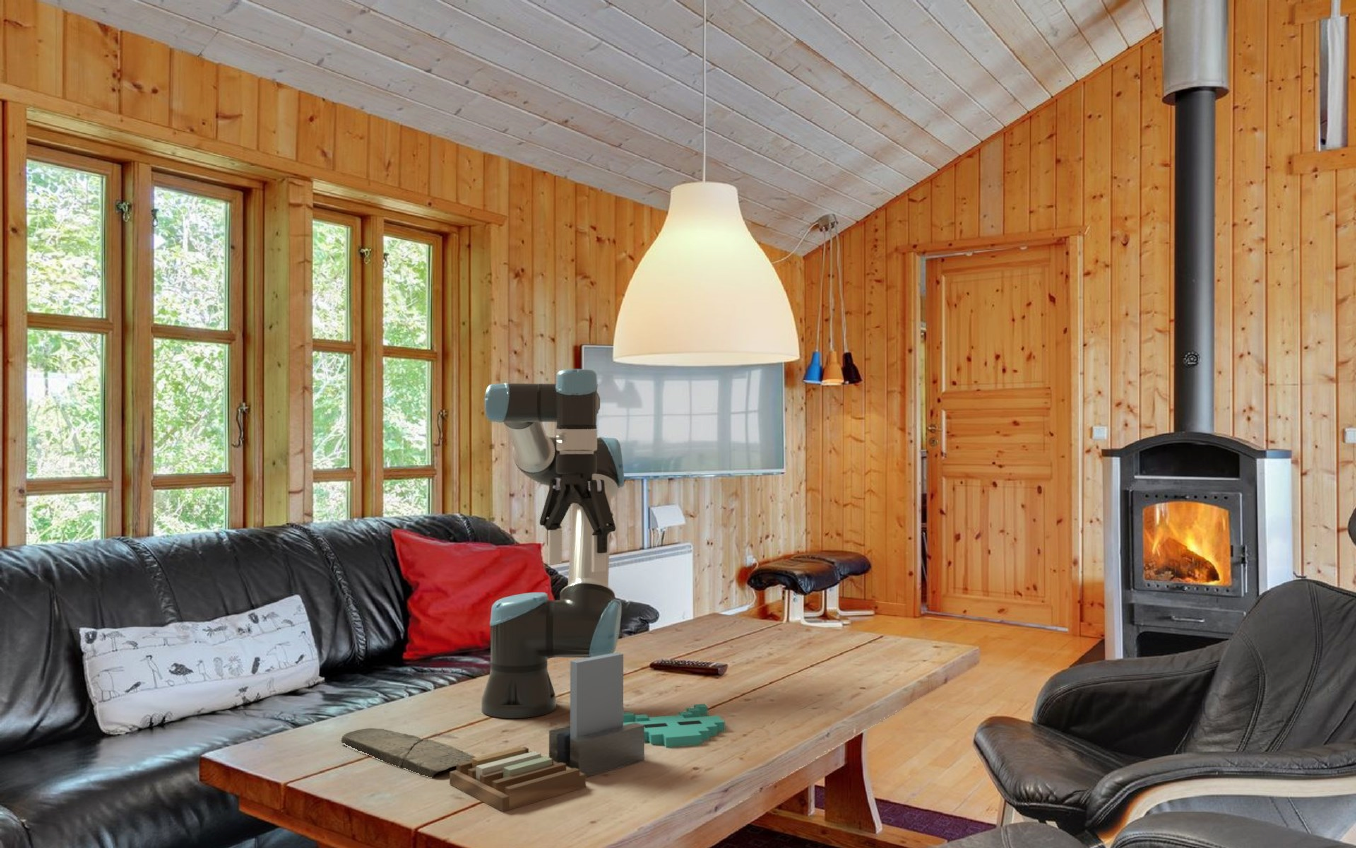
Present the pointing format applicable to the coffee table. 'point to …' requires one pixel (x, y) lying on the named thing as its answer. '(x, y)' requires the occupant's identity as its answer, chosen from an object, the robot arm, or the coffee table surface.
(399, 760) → the stone slab
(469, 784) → the rack
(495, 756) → the offcut
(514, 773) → the offcut
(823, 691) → the coffee table surface
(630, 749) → the holder
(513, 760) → the offcut
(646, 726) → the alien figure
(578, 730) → the tall sheet
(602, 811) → the coffee table surface
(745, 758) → the coffee table surface
